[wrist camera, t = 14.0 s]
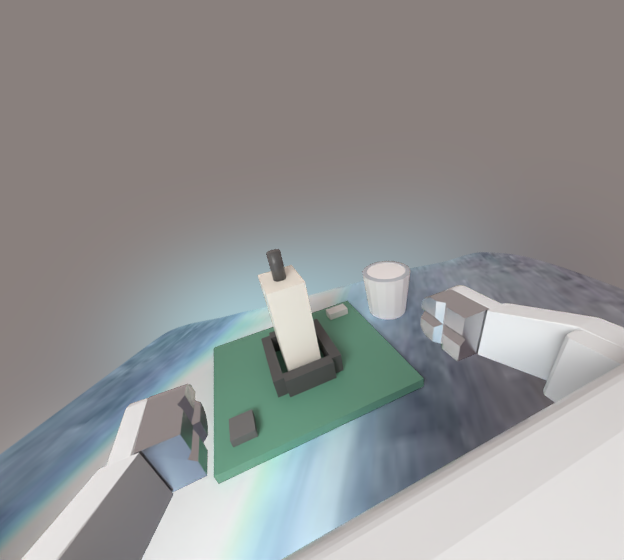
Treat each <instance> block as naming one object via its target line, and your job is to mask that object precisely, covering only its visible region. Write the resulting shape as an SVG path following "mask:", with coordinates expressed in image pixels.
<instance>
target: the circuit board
mask: <svg viewBox="0 0 624 560" xmlns="http://www.w3.org/2000/svg"><path fill="white" fill-rule="evenodd" d="M312 318H313V322H314V327H315V332H316V337H317V342H318V347H319V351H320V356H321V359H318V360H316V361H313V362H311V363H308V364H306V365H303V366H301V367H298V368H296V369H293V370H291V371H288V370H287V367H286V365H285V362H284V359H283V356H282V354H281V350H280V347H279V344H278V340H277V337H276V334H275V331H274V327H272V328H269V329H266V330H263V331H260V332H257V333H255V334H252V335H249V336H246V337H243V338H240V339H238V340H235V341H232V342H229V343H226V344H223V345H221V346H218V347H215V348H214V477H215V479H216V480H217V482H218V483H221V482H223V481H225V480H228V479H230V478H232V477H234V476H236V475H238V474H240V473H242V472H244V471H246V470H249V469H251V468H253V467H255V466H257V465H259V464H261V463H263V462H265V461H267V460H270V459H272V458H274V457H276V456H278V455H280V454H282V453H284V452H286V451H289V450H291V449H293V448H295V447H297V446H299V445H301V444H303V443H305V442H307V441H310V440H312V439H314V438H316V437H318V436H320V435H322V434H324V433H326V432H328V431H331V430H333V429H335V428H337V427H339V426H341V425H343V424H345V423H347V422H349V421H352V420H354V419H356V418H358V417H360V416H362V415H364V414H366V413H368V412H371V411H373V410H375V409H377V408H379V407H381V406H383V405H385V404H387V403H389V402H392V401H394V400H396V399H398V398H400V397H402V396H404V395H406V394H408V393H410V392H413V391H415V390H417V389H419V388H421V387H423V386H424V378H423V377H422V376H421V375H420V374H419V373H418V372H417V371H416V370H415V369H414V368H413V367H412V366H411V365H410V364H409V363H408V362H407V361H406V360H405V359H404V358H403V357H402V356H401V355H400V354H399V353H398V352H397V351H396V350H395V349H394V348H393V347H392V346H391V345H390V344H389V343H388V342H387V341H386V340H385V339H384V338H383V337H382V336H381V335H380V334H379V333H378V332H377V331H376V330H375V329H374V328H373V327H372V326H371V325H370V324H369V323H368V322H367V320H366V319H365V318H364V317H363V316H362V315H361V314H360V313H359V312H358V311H357V310H356V309H355V308H354V307H353V306H352V305H351V304H350V303H349V302H348V301H345V302H342V303H339V304H337V305H334V306H331V307H328V308H325V309H323V310H320V311H317V312H314V313H312Z"/></svg>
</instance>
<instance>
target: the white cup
mask: <svg viewBox="0 0 624 560" xmlns="http://www.w3.org/2000/svg"><path fill="white" fill-rule="evenodd" d="M362 273H363V278H364V284H365V289H366V294H367V300H368V305H369V310H370V313H371V314H372V315H373V316H375V317H377V318H379V319H386V320H389V319H396V318H398V317H401V316H402V315H403V314H404V313H405V310H406V303H407V294H408V286H409V278H410V269H409V267H408V266H407V265H405V264H403V263H400V262H395V261H382V262H376V263H373V264H370V265H368V266H367V267H365V268H364V270H363V271H362Z"/></svg>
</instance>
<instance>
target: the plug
mask: <svg viewBox="0 0 624 560" xmlns="http://www.w3.org/2000/svg"><path fill="white" fill-rule="evenodd" d="M266 255H267V258H268V262H269V266H270V269H271V271H270V272H267V273H263V274H260V275H258V277H259V281H260V284H261V288H262V291H263V294H264V298H265V301H266V304H267V307H268V311H269V314H270V317H271V321H272V324H273V327H274V331H275V334H276V337H277V340H278V344H279V347H280V350H281V354H282V356H283V359H284V362H285V365H286V367H287V370H288V371H291V370H293V369H296V368H298V367H301V366H303V365H306V364H308V363H311V362H313V361H316V360H318V359H321V356H320V351H319V347H318V342H317V337H316V332H315V327H314V322H313V318H312V313H311V308H310V303H309V298H308V294H307V289H306V284H305V281H304V280H303V279H302V277H301V276H300V275H299V274H298V273H297V271H296V270H295V269H294V268H293V266H292V265H290V266H287V267H284V265H283V261H282V257H281V252H280V250H279V249H274V250H270V251H268V252H267V254H266Z"/></svg>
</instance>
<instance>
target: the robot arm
mask: <svg viewBox="0 0 624 560" xmlns="http://www.w3.org/2000/svg"><path fill="white" fill-rule="evenodd" d="M422 309H423V310H424V311H425V312H424V313H423V315H422V317H421V327H422V330H423V332H424V333H425V335H426V336H427V337H428V338H429V339H430V340H432V341H433V342H437V343H440V344H441V347H442V349H443V350H444V351H445V352H446V353H448V354H449V355H450V356H451V357H453V358H454V359H455V360H456V361H460V360H462V359H465V358H467V357H469V356H472V355H474V354H477V353H478V355H481V356H483V357H486V358H488V359H491V360H494V361H496V362H499V363H502V364H504V365H507V366H510V367H512V368H515V369H518V370H520V371H523V372H525V373H528V374H531V375H533V376H536V377H539V378H541V379H544V380H547V382H546V384H545V387H544V389H543V392H544V395H545V396H546V397H548V398H549V399H551V400H552V401H553V402H555V403H553V404H551V405H550V406H548V407H546V408H544V409H543V410H541V411H539V412H537V413H536V414H534V415H532V416H530V417H529V418H527V419H525V420H523V421H522V422H520V423H518V424H517V425H515V426H513V427H511V428H510V429H508V430H506V431H504V432H503V433H501V434H499V435H497V436H496V437H494V438H492V439H490V440H489V441H487V442H485V443H483V444H482V445H480V446H478V447H476V448H475V449H473V450H471V451H469V452H468V453H466V454H464V455H463V456H461V457H459V458H457V459H456V460H454V461H452V462H450V463H449V464H447V465H445V466H443V467H442V468H440V469H438V470H436V471H435V472H433V473H431V474H429V475H428V476H426V477H424V478H422V479H421V480H419V481H417V482H416V483H414V484H412V485H410V486H409V487H407V488H405V489H403V490H402V491H400V492H398V493H396V494H395V495H393V496H391V497H389V498H388V499H386V500H384V501H382V502H381V503H379V504H377V505H375V506H374V507H372V508H370V509H368V510H367V511H365V512H363V513H362V514H360V515H358V516H356V517H355V518H353V519H351V520H349V521H348V522H346V523H344V524H342V525H341V526H339V527H337V528H335V529H334V530H332V531H330V532H328V533H327V534H325V535H323V536H322V537H320V538H318V539H316V540H315V541H313V542H311V543H309V544H308V545H306V546H304V547H302V548H301V549H299V550H297V551H295V552H294V553H292V554H290V555H288V556H287V557H285V558H283V559H282V560H624V328H623V327H621V326H618V325H616V324H613V323H611V322H608V321H606V320H603V319H601V318H598V317H591V316H585V315H579V314H572V313H566V312H560V311H553V310H547V309H541V308H535V307H528V306H522V305H516V304H509V303H504V304H501V303H499V302H497V301H495V300H493V299H490V298H488V297H486V296H484V295H482V294H480V293H478V292H476V291H474V290H472V289H470V288H468V287H465V286H463V285H457V286H454V287H452V288H449V289H447V290H444V291H442V292H439V293H436V294H434V295H431V296H428V297H426V298H424V300H423V301H422ZM207 435H208V425H207V419H206V414H205V411H204V408H203V406H202V404H201V402H198V401H195V391H194V390H193V388H192V386H191V385H190V384H186V385H183V386H180V387H177V388H174V389H171V390H168V391H165V392H163V393H160V394H157V395H154V396H151V397H149V398H146V399H143V400H140V401H137V402H134V403H131V404H130V405H129V406H128V407H127V408H126V410H125V413H124V415H123V418H122V421H121V424H120V427H119V430H118V433H117V436H116V438H115V441H114V444H113V447H112V450H111V453H110V456H109V458H108V461H107V464H106V466H105V467H102V468H100V469H98V470H97V472H96V473H95V474H94V475H93V476H92V477H91V479H90V480H89V481H88V482H87V483H86V484H85V486H84V487H83V488H82V489H81V490H80V491H79V493H78V494H77V495H76V496H75V497H74V498H73V500H72V501H71V502H70V503H69V504H68V505H67V506H66V508H65V509H64V510H63V511H62V512H61V513H60V515H59V516H58V517H57V518H56V519H55V520H54V522H53V523H52V524H51V525H50V526H49V527H48V529H47V530H46V531H45V532H44V533H43V534H42V536H41V537H40V538H39V539H38V540H37V541H36V542H35V544H34V545H33V546H32V547H31V548H30V549H29V551H28V552H27V553H26V554H25V555H24V556H23V558H22V559H21V560H141V559H142V557H143V555H144V553H145V551H146V549H147V547H148V545H149V543H150V541H151V539H152V537H153V535H154V533H155V531H156V529H157V527H158V525H159V523H160V520H161V518H162V516H163V514H164V512H165V510H166V508H167V506H168V504H169V502H170V500H171V498H172V496H173V493H172V492H174V491H176V490H178V489H180V488H183V487H185V486H187V485H189V484H191V483H193V482H195V481H197V480H199V479H201V478H203V477H205V476H207V449H206V447H205V445H204V444H203V442H204V441H205V439H206V437H207Z"/></svg>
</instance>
